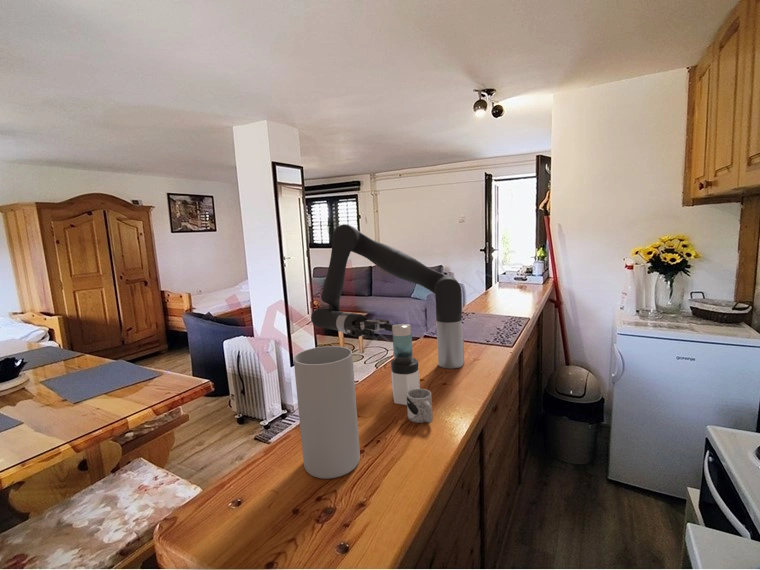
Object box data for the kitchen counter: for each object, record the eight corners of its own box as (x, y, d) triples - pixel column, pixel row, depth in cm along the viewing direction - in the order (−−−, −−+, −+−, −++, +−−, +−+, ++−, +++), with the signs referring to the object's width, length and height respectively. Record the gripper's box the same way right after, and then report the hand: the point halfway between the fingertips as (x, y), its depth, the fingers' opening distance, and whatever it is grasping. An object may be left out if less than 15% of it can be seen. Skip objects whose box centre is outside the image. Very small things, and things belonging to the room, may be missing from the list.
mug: (403, 414, 103) (402, 391, 103) (425, 409, 106) (423, 386, 105) (420, 431, 94) (419, 406, 93) (443, 424, 96) (442, 400, 96)
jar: (402, 408, 107) (400, 368, 105) (386, 399, 114) (384, 361, 112) (426, 399, 112) (424, 361, 110) (409, 391, 119) (407, 354, 117)
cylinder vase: (306, 486, 75) (295, 368, 72) (301, 453, 87) (292, 351, 84) (366, 472, 79) (357, 359, 76) (353, 442, 91) (346, 343, 88)
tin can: (403, 357, 115) (401, 322, 114) (417, 361, 111) (415, 325, 110) (390, 362, 111) (387, 326, 110) (403, 366, 107) (401, 329, 106)
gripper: (334, 317, 123) (365, 323, 111) (366, 309, 133) (398, 315, 121) (335, 339, 124) (366, 347, 112) (368, 330, 134) (400, 337, 122)
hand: (383, 330), depth 117 cm, fingers open, 8 cm apart
